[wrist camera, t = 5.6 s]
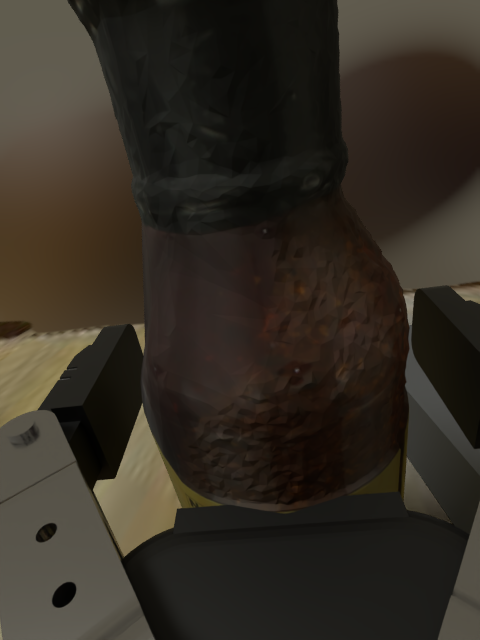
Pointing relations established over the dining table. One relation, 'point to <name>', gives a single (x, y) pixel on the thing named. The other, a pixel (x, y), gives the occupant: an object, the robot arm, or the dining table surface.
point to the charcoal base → (441, 449)
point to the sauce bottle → (254, 255)
